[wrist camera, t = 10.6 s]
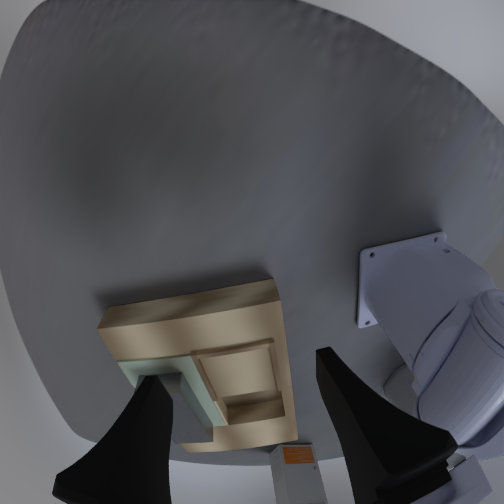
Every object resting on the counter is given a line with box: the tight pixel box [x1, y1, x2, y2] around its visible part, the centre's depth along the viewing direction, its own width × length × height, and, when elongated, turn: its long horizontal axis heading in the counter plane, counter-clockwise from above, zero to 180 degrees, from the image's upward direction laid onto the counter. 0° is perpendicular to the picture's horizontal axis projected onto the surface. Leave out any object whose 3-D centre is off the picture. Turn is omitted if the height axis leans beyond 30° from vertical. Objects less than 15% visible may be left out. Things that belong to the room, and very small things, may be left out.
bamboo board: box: [97, 278, 298, 453], centre depth 23 cm, size 14×22×3 cm, turn 10°
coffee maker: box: [383, 363, 467, 469], centre depth 20 cm, size 15×9×18 cm, turn 166°
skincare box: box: [269, 444, 328, 504], centre depth 28 cm, size 6×4×12 cm
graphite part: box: [134, 372, 213, 444], centre depth 21 cm, size 4×9×2 cm, turn 10°
